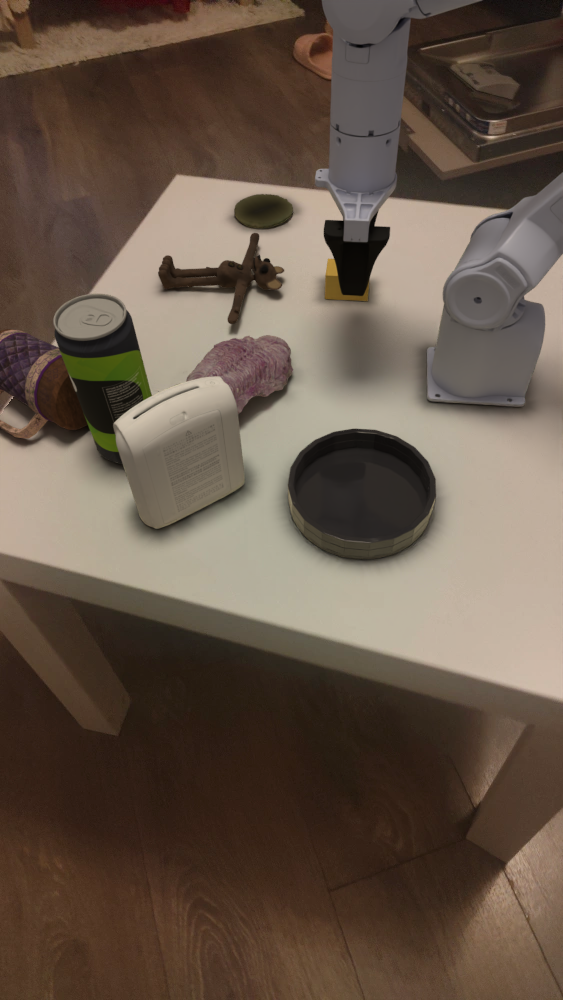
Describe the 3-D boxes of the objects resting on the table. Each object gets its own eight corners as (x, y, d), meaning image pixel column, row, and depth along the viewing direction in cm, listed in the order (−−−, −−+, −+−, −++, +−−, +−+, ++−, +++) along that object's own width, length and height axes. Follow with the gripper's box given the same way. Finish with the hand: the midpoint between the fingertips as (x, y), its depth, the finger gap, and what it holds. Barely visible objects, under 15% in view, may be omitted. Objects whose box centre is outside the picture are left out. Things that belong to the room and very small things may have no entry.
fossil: (166, 415, 66) (156, 375, 62) (252, 340, 73) (248, 300, 69) (229, 448, 63) (223, 408, 59) (313, 367, 70) (312, 326, 66)
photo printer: (229, 456, 62) (214, 354, 53) (253, 485, 60) (242, 383, 50) (131, 506, 59) (96, 406, 49) (152, 538, 57) (120, 441, 47)
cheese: (369, 284, 79) (371, 260, 76) (367, 301, 76) (369, 277, 74) (327, 282, 79) (327, 258, 77) (324, 299, 77) (325, 275, 74)
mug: (122, 381, 66) (43, 342, 71) (79, 348, 59) (-5, 308, 64) (70, 469, 65) (-5, 424, 70) (21, 446, 59) (-59, 398, 64)
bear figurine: (176, 220, 83) (289, 212, 80) (184, 251, 86) (293, 245, 84) (140, 307, 72) (269, 302, 70) (151, 338, 76) (275, 334, 73)
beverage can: (170, 424, 65) (139, 294, 53) (151, 472, 61) (113, 343, 49) (111, 417, 66) (67, 288, 54) (88, 464, 62) (36, 336, 50)
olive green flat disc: (283, 227, 85) (283, 232, 86) (300, 197, 90) (300, 203, 91) (225, 219, 87) (226, 224, 88) (245, 190, 92) (246, 195, 92)
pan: (430, 452, 62) (434, 433, 60) (432, 566, 54) (437, 548, 52) (297, 443, 63) (297, 424, 61) (281, 552, 56) (279, 535, 54)
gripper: (323, 84, 58) (321, 227, 69) (307, 162, 49) (306, 313, 60) (404, 85, 58) (388, 230, 68) (401, 165, 49) (384, 317, 60)
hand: (355, 269), depth 64 cm, fingers open, 7 cm apart
